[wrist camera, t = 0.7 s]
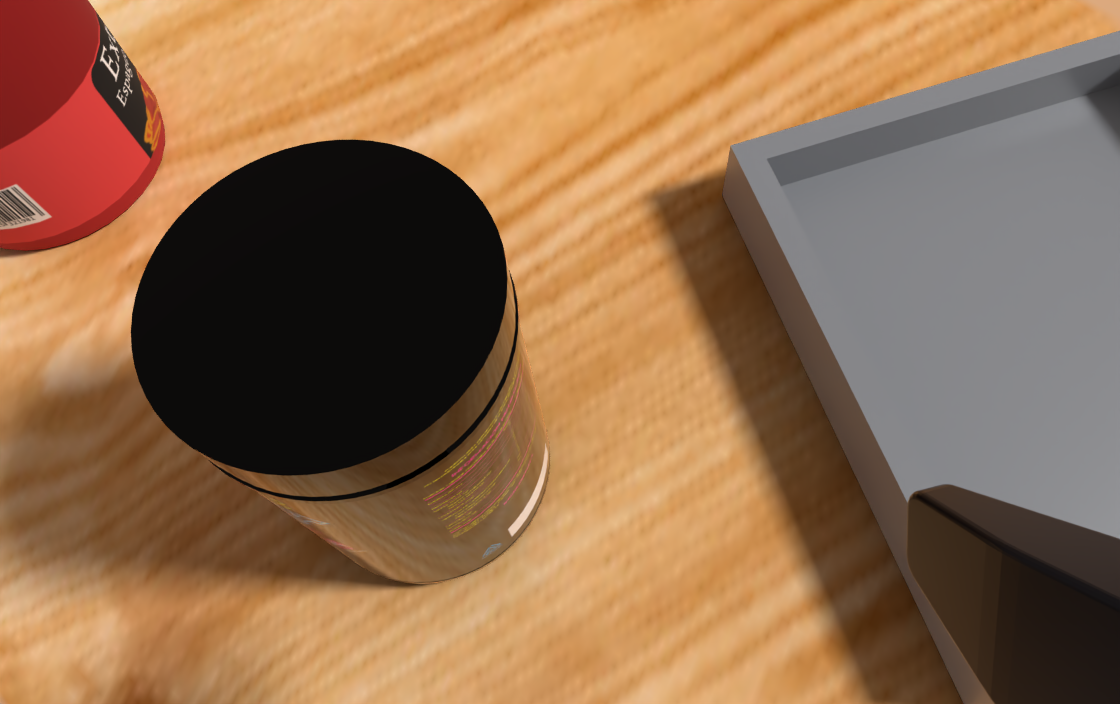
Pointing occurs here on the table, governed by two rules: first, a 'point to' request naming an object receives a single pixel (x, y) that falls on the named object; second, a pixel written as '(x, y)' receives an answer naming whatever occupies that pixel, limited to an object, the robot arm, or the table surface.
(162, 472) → the table surface
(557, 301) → the table surface
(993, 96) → the tray
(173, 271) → the supplement container
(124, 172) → the canned food
